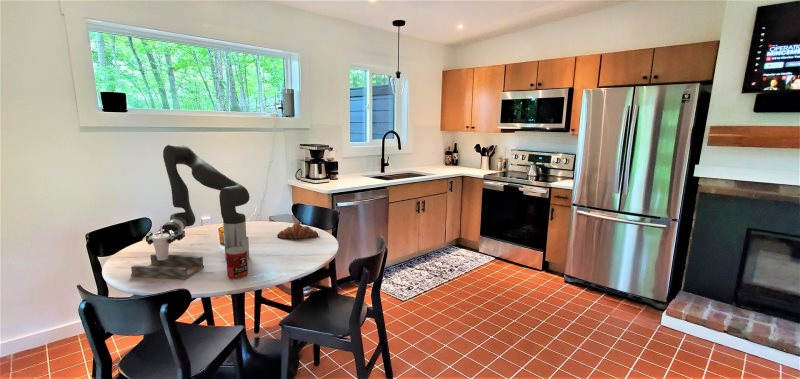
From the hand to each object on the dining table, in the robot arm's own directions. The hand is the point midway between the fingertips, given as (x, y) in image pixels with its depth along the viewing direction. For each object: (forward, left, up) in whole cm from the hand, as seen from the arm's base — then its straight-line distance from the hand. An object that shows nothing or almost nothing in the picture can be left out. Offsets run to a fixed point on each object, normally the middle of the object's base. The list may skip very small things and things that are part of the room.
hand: (159, 241), depth 149 cm
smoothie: (+1, -2, -8) cm, 9 cm away
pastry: (-37, -56, -14) cm, 69 cm away
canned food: (-30, -3, -14) cm, 33 cm away
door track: (-1, -2, -13) cm, 14 cm away
